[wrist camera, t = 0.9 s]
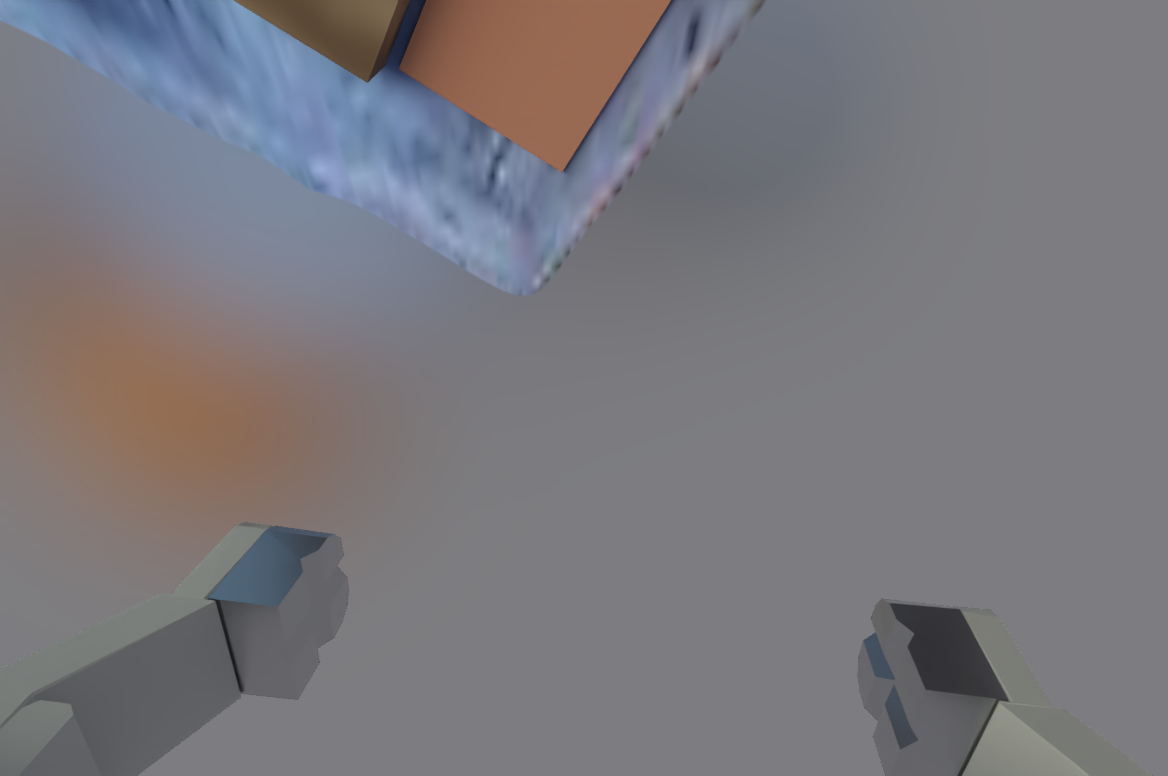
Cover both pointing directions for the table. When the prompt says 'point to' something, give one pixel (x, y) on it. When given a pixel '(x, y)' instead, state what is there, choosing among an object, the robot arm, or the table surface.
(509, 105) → the mat
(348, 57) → the board
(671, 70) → the table surface
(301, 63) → the table surface
